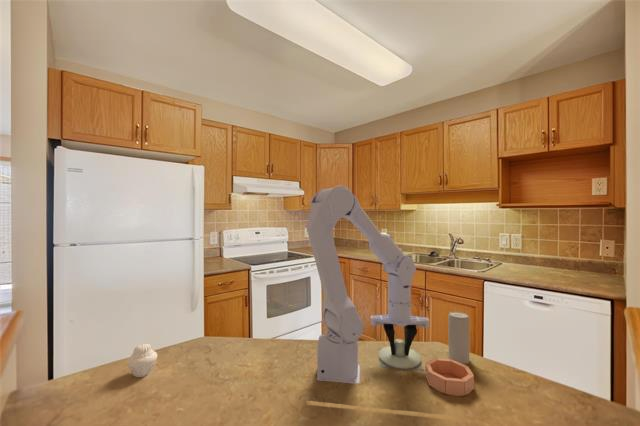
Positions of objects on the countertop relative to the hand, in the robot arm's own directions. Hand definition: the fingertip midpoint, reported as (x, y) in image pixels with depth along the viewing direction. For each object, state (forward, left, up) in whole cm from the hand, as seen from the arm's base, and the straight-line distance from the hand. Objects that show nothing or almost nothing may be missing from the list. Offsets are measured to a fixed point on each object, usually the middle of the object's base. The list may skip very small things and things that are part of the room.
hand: (399, 353), depth 74 cm
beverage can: (+15, +2, -2) cm, 15 cm away
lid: (0, 0, -1) cm, 1 cm away
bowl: (+10, -9, -2) cm, 14 cm away
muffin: (-61, -16, -2) cm, 63 cm away
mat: (0, 0, -2) cm, 2 cm away
